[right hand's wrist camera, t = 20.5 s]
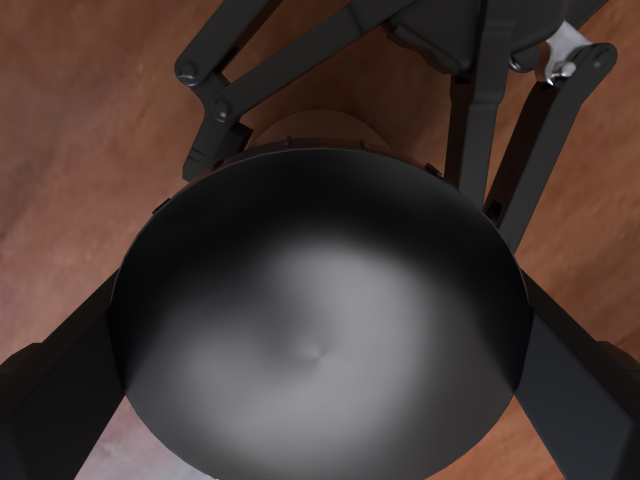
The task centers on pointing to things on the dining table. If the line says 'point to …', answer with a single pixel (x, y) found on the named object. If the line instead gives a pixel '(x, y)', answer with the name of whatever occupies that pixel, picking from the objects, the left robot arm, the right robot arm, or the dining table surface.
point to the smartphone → (579, 11)
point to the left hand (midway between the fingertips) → (279, 291)
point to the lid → (319, 317)
